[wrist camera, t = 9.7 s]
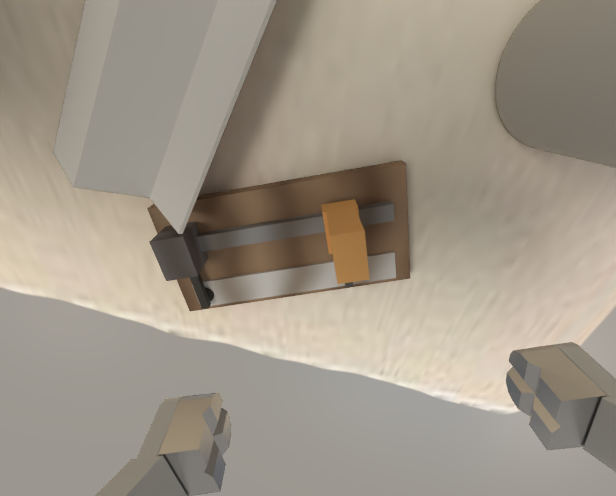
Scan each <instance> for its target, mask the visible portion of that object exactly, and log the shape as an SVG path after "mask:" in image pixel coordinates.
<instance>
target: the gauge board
mask: <svg viewBox="0 0 616 496" xmlns="http://www.w3.org/2000/svg"><path fill="white" fill-rule="evenodd" d="M353 199H355V201H356V203H357V205H358V211H359V219H360V221H361V223H362V226H363V228H364V230H365V239H366V249H367V258H368V268H369V278H370V279H369V280H363V281H356V282H353V286H352V287H355V286H362V285H369V284H375V283H382V282H389V281H395V280H402V279H409V278H410V261H409V234H408V207H407V181H406V164H405V163H404V162H403V161H396V162H390V163H384V164H379V165H373V166H367V167H361V168H356V169H350V170H344V171H339V172H333V173H327V174H321V175H316V176H310V177H304V178H299V179H293V180H287V181H281V182H276V183H270V184H264V185H258V186H253V187H247V188H241V189H236V190H230V191H224V192H218V193H213V194H207V195H201V196H198V197H197V199H196V202H195V204H194V207H193V209H192V212H191V214H190V217H189V219H188V222H187V224H186V227H185V229H184V232H183V234H178V233H177V231H176V230H175V229H174V228H173V226H172V225H171V224H170V223H169V221H168V220H167V219H166V218H165V216H164V215H163V214H162V213H161V211H160V210H159V209H158V208H157V206H156V205H155V204H153V205H152V206H150V207H149V208H148V211H149V214H150V216H151V218H152V221H153V223H154V226H155V228H156V231H157V233H158V234H157V235H156V236H155V237H154V238H153V239H152V240H151V241H150V244H151V246H152V249H153V251H154V253H155V256H156V258H157V260H158V263H159V265H160V267H161V270H162V272H163V274H164V277H165V279H166V281H170V280H176V279H177V281H178V284H179V286H180V288H181V291H182V293H183V296H184V298H185V300H186V303H187V305H188V308H189V310H190V311H195V310H202V309H209V308H215V307H222V306H229V305H235V304H242V303H249V302H255V301H262V300H269V299H275V298H282V297H289V296H295V295H302V294H309V293H315V292H322V291H329V290H335V289H342V288H349V287H345V283H343V284H337V278H336V272H335V266H334V260H333V254H329V251H328V245H327V239H326V232H325V226H324V220H323V214H322V207H321V205H323V204H329V203H335V202H341V201H347V200H353Z"/></svg>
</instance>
